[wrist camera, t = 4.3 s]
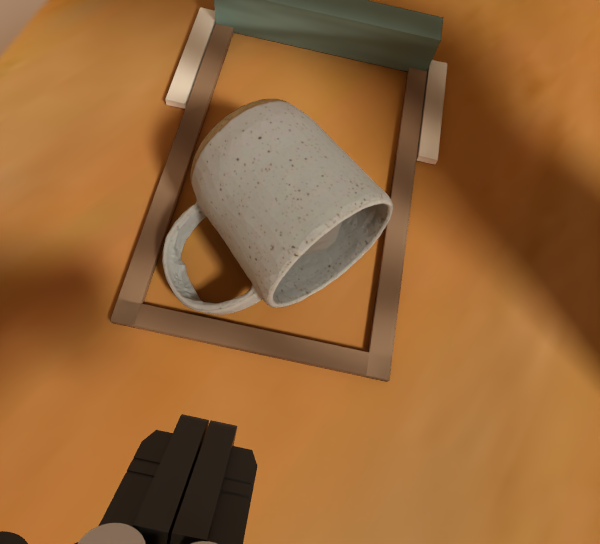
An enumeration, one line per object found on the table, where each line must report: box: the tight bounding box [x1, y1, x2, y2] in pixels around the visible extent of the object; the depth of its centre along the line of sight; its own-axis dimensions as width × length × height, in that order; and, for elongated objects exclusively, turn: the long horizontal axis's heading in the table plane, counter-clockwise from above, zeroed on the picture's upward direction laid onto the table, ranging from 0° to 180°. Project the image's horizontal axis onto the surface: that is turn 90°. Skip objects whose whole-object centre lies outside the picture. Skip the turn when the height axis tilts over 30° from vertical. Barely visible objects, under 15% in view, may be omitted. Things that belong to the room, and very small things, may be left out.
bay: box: [110, 0, 448, 382], centre depth 29 cm, size 23×17×3 cm
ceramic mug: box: [162, 99, 393, 314], centre depth 25 cm, size 11×8×8 cm
